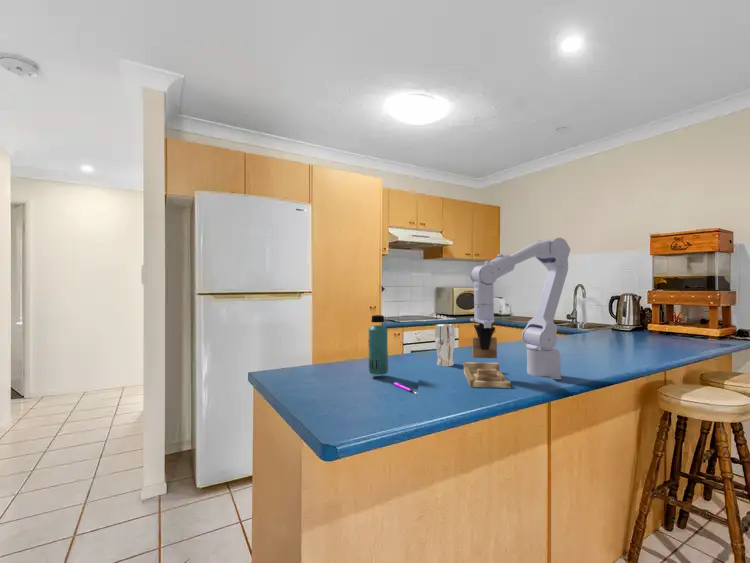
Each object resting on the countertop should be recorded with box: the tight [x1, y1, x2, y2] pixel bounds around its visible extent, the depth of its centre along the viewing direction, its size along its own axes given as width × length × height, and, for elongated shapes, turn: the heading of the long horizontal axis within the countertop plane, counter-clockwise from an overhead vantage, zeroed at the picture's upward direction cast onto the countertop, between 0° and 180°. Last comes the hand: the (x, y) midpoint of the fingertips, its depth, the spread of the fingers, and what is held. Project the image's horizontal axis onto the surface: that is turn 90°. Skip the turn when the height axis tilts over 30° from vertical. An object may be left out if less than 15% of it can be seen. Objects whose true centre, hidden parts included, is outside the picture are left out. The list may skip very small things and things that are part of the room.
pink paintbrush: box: [393, 382, 419, 396], centre depth 108 cm, size 3×1×16 cm
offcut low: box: [476, 375, 501, 381], centre depth 110 cm, size 6×2×2 cm, turn 82°
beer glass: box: [434, 323, 456, 367], centre depth 137 cm, size 7×7×15 cm
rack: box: [463, 361, 512, 389], centre depth 116 cm, size 11×18×4 cm, turn 172°
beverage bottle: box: [367, 314, 389, 376], centre depth 124 cm, size 6×7×20 cm
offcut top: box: [477, 369, 497, 377], centre depth 110 cm, size 5×2×2 cm, turn 86°
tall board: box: [471, 336, 498, 359], centre depth 117 cm, size 7×2×6 cm, turn 82°
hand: (484, 348), depth 117 cm, fingers closed on tall board, 2 cm apart
